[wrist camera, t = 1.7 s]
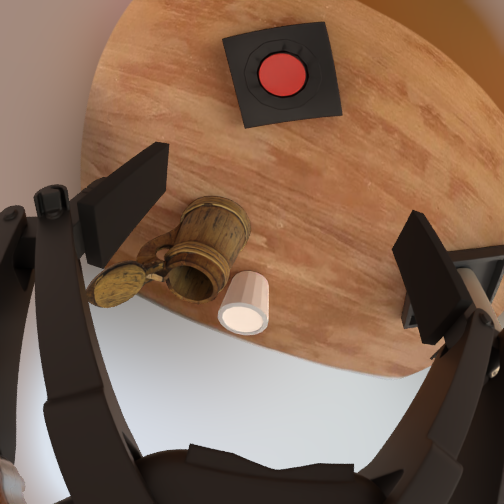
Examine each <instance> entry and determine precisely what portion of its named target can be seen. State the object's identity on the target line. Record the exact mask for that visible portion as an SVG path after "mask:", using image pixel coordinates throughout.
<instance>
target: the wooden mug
mask: <svg viewBox="0 0 504 504" xmlns="http://www.w3.org/2000/svg"><path fill="white" fill-rule="evenodd" d="M250 228H251V227H250V222H249V219H248V217H247V215H246V213H245V211H244V210H243V209H242V208H241V207H240V206H239V205H238V204H236V203H234V202H233V201H231V200H228V199H225V198H222V197H215V196H213V197H203V198H200V199H197V200H195V201H194V202H193V203H191V204H190V205H189V206H188V207H187V208H186V210H185V211H184V212H183V214H182V216H181V220H180V224H179V225H178V226H177V227H176V228H175V229H174V230H172V231H170V232H168V233H166V234H164V235H161V236H159V237H157V238H155V239H153V240H151V241H149V242H148V243H147V244H145V245H144V246H143V247H142V248H141V250H140V252H139V253H138V255H137V260H136V261H132V260H129V261H123V262H119V263H116V264H114V265H112V266H110V267H108V268H106V269H105V270H103V271H102V272H101V273H99V274H98V275H97V276H96V277H95V278H94V279H93V280H92V281H91V283H90V284H89V286H88V287H87V289H86V294H87V299H88V302H89V303H91V304H93V305H95V306H98V307H102V308H103V307H104V308H110V307H115V306H117V305H119V304H121V303H124V302H126V301H128V300H129V299H130V298H132V297H133V296H134V295H135V294H136V293H138V291H139V290H140V289H141V288H142V287H143V286H144V284H146V283H148V282H150V281H153V280H157V281H161V282H165V281H166V283H167V286H168V288H169V289H170V291H171V292H172V293H173V294H174V295H176V296H177V297H178V298H180V299H182V300H184V301H187V302H189V303H194V304H204V303H208V302H210V301H212V300H214V299H215V298H216V296H217V295H218V293H219V292H220V291H221V290H222V289H223V288H224V287H225V285H226V283H227V281H228V279H229V275H230V269H231V267H232V265H233V263H234V262H235V260H236V258H237V256H238V254H239V253H240V252H241V250H242V249H243V248H244V246H245V244H246V242H247V240H248V238H249V236H250ZM161 249H170V250H169V251H168V252H167V253H166V254H165V256H164V260H165V261H163V260H160V259H159V258H157V257H156V252H157V251H159V250H161Z"/></svg>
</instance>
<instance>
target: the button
mask: <svg viewBox="0 0 504 504" xmlns="http://www.w3.org/2000/svg"><path fill="white" fill-rule="evenodd" d="M305 78H306V74H305V69H304V67H303V65H302V63H301V62H300V61H299V60H298V59H297V58H295V57H293V56H291V55H289V54H274V55H272V56H270V57H268V58H267V59H266V60H264V62H263V63H262V65H261V67H260V70H259V79H260V82H261V84H262V85H263V87H264V88H265V89H266V90H267V91H269V92H270V93H272V94H274V95H278V96H288V95H292V94H294V93H296V92H297V91H299V90H300V89H301V87H302V86H303V84H304V82H305Z"/></svg>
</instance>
